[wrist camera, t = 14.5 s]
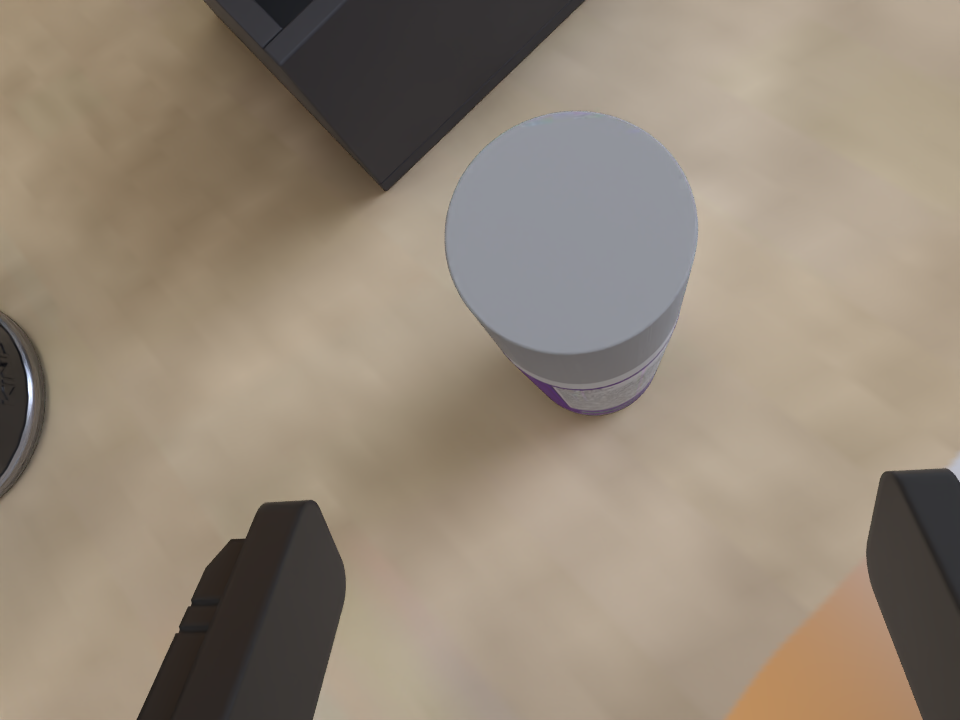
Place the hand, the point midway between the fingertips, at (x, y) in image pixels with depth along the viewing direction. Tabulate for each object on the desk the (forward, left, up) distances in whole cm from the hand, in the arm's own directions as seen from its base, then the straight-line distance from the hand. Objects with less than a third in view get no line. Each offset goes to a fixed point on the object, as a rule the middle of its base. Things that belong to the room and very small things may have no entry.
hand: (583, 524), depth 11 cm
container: (+2, +4, -17) cm, 17 cm away
